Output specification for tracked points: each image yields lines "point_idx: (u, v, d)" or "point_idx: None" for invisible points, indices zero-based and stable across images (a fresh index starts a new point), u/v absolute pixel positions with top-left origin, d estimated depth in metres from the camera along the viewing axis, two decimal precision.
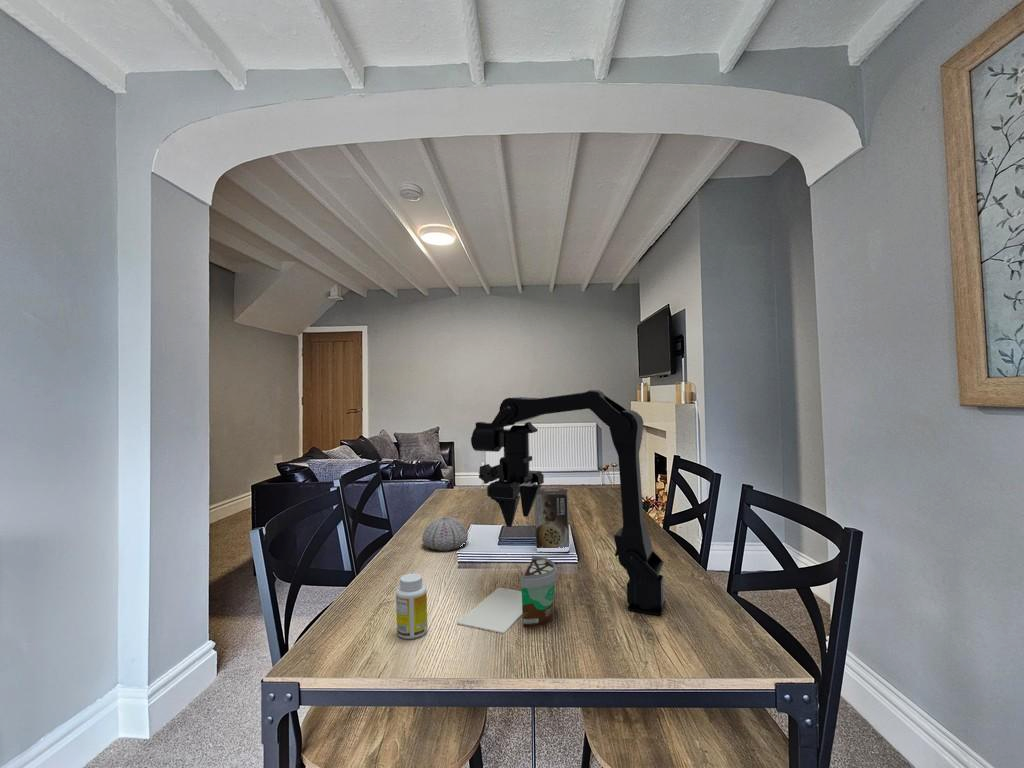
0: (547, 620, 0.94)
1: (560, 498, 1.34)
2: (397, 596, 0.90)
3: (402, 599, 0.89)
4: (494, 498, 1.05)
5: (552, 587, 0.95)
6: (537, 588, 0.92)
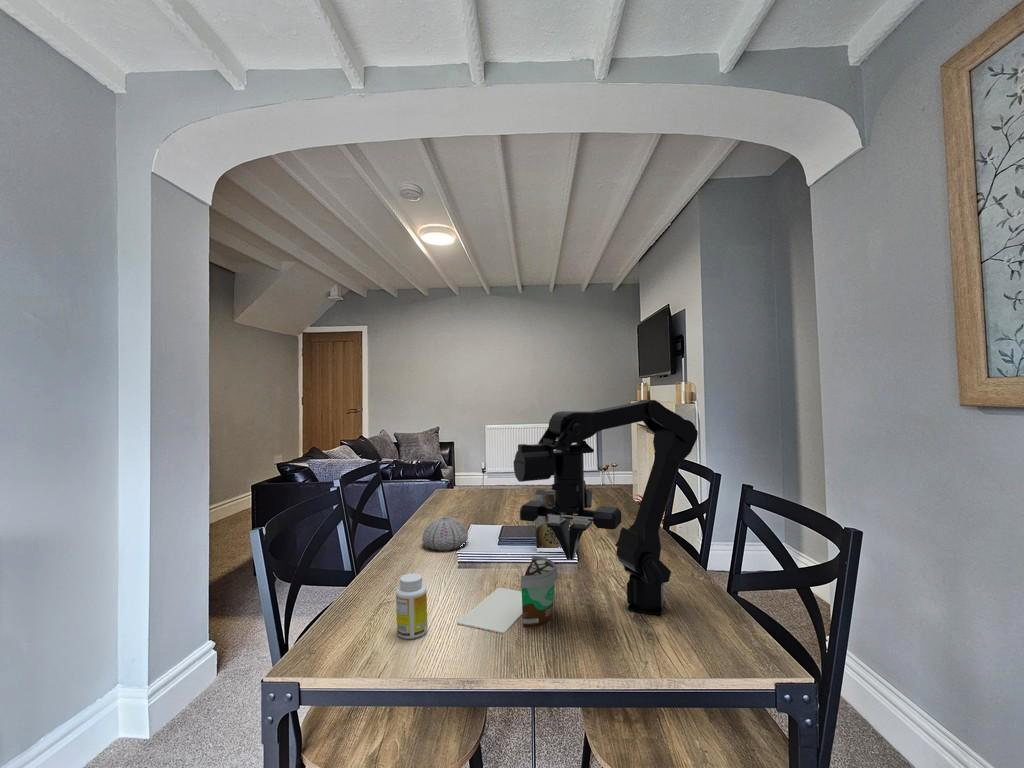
0: (547, 620, 0.94)
1: None
2: (397, 596, 0.90)
3: (402, 599, 0.89)
4: None
5: (552, 587, 0.95)
6: (537, 588, 0.92)
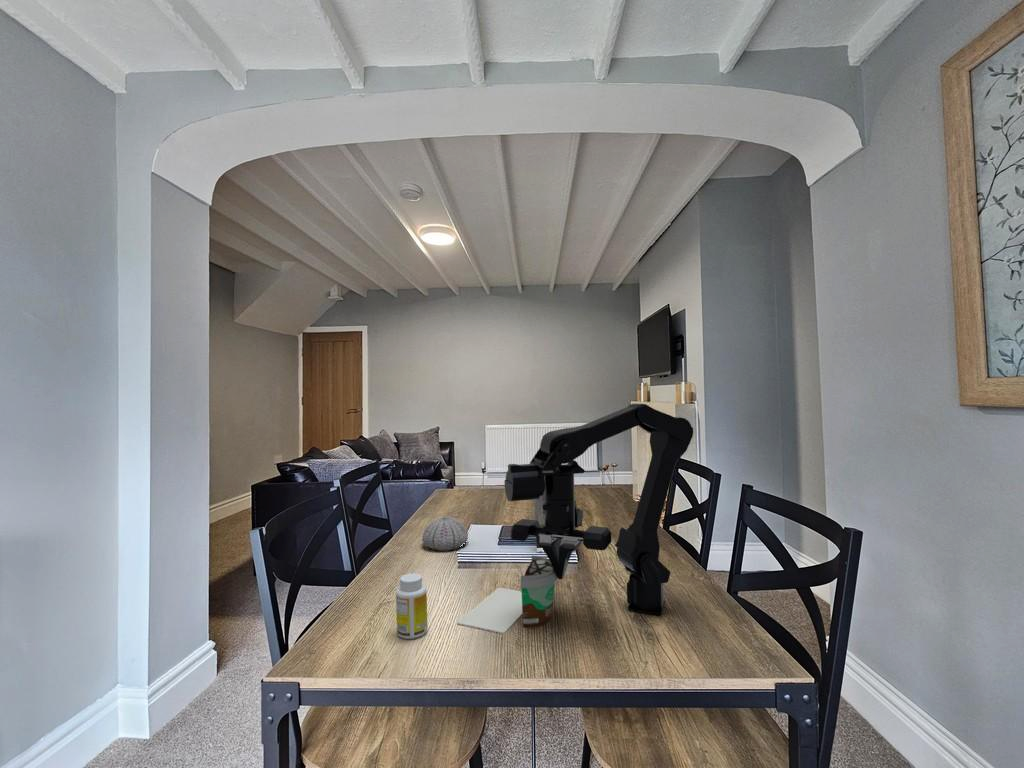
0: (547, 620, 0.94)
1: None
2: (397, 596, 0.90)
3: (402, 599, 0.89)
4: None
5: (552, 587, 0.95)
6: (537, 588, 0.92)
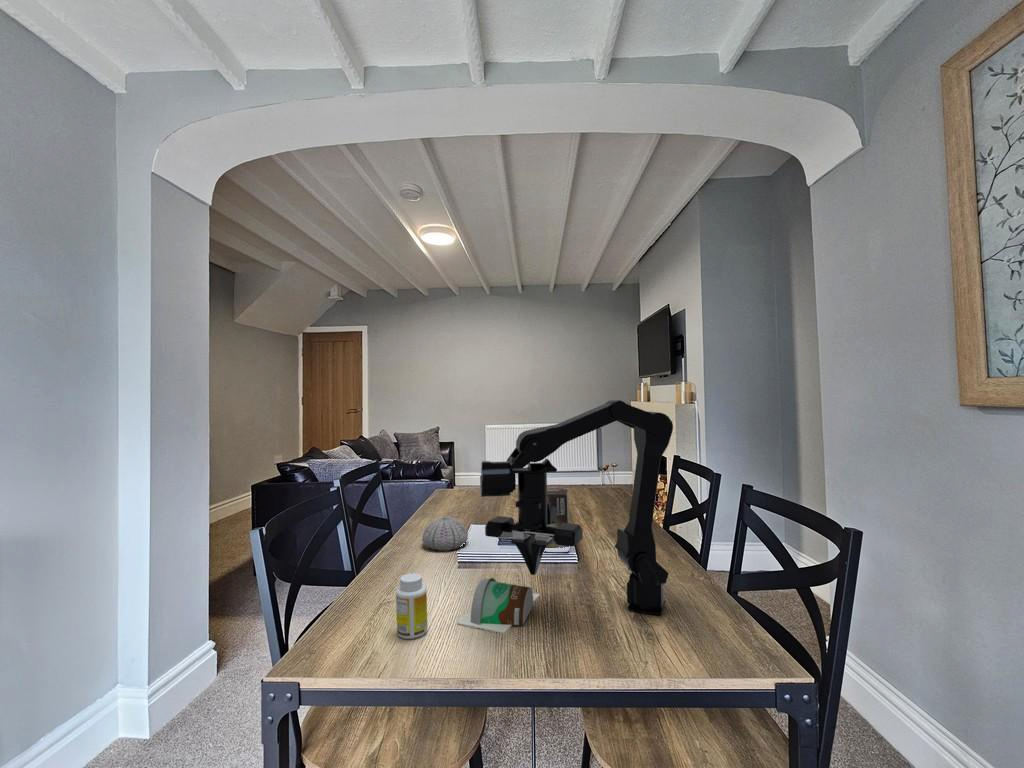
0: (522, 597, 0.95)
1: (560, 498, 1.34)
2: (397, 596, 0.90)
3: (402, 599, 0.89)
4: None
5: (494, 587, 0.97)
6: (484, 606, 0.94)
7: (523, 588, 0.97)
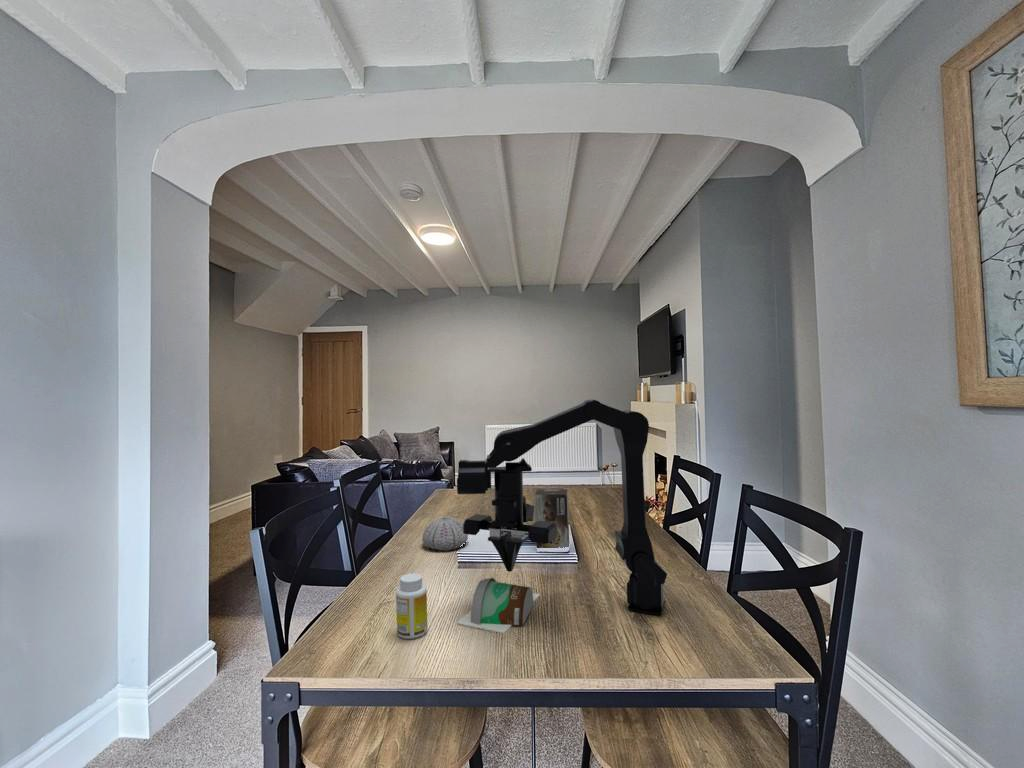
0: (522, 597, 0.95)
1: (560, 498, 1.34)
2: (397, 596, 0.90)
3: (402, 599, 0.89)
4: None
5: (494, 587, 0.97)
6: (484, 606, 0.94)
7: (523, 588, 0.97)
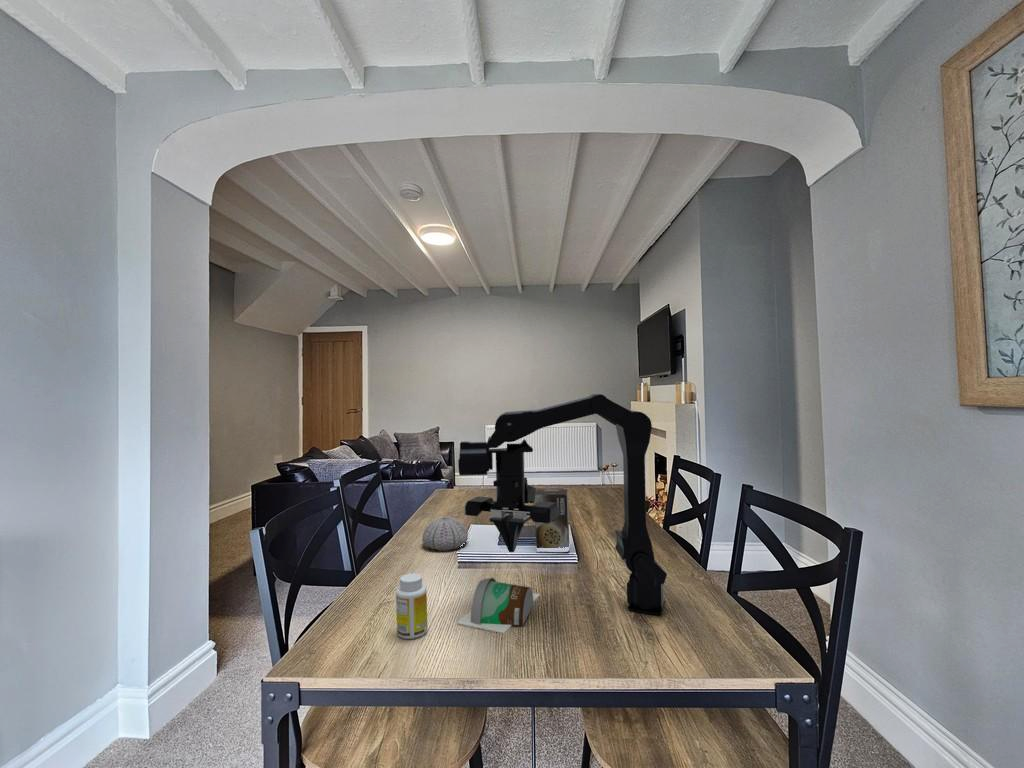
0: (522, 597, 0.95)
1: (560, 498, 1.34)
2: (397, 596, 0.90)
3: (402, 599, 0.89)
4: None
5: (494, 587, 0.97)
6: (484, 606, 0.94)
7: (523, 588, 0.97)
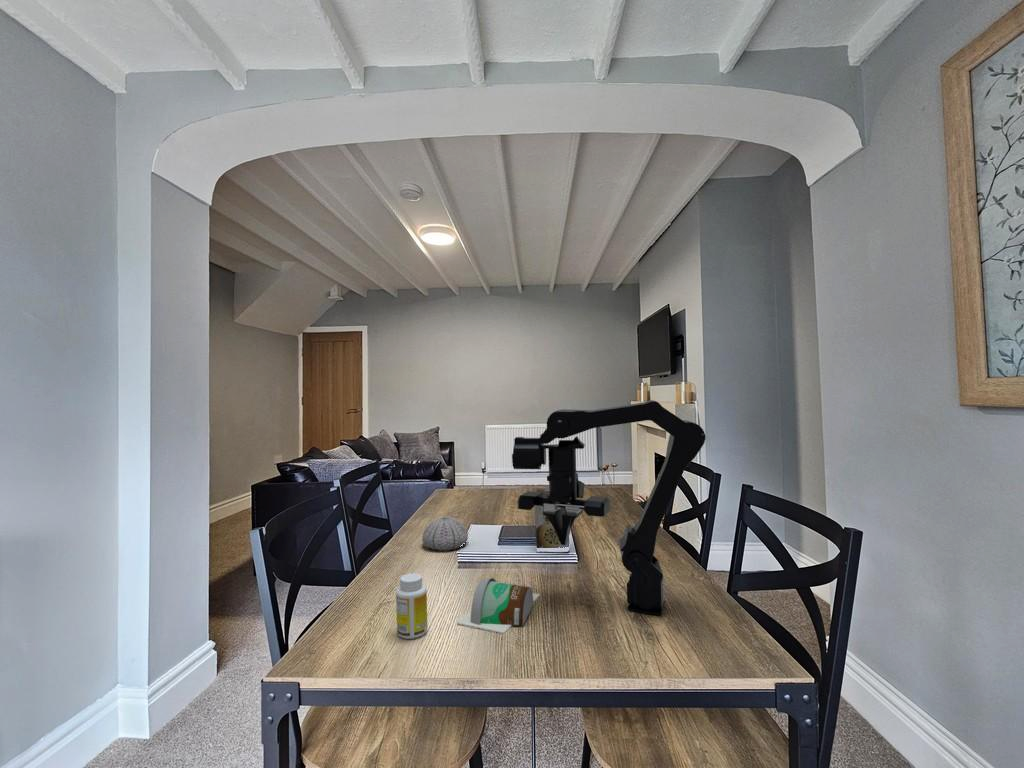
0: (522, 597, 0.95)
1: None
2: (397, 596, 0.90)
3: (402, 599, 0.89)
4: None
5: (494, 587, 0.97)
6: (484, 606, 0.94)
7: (523, 588, 0.97)
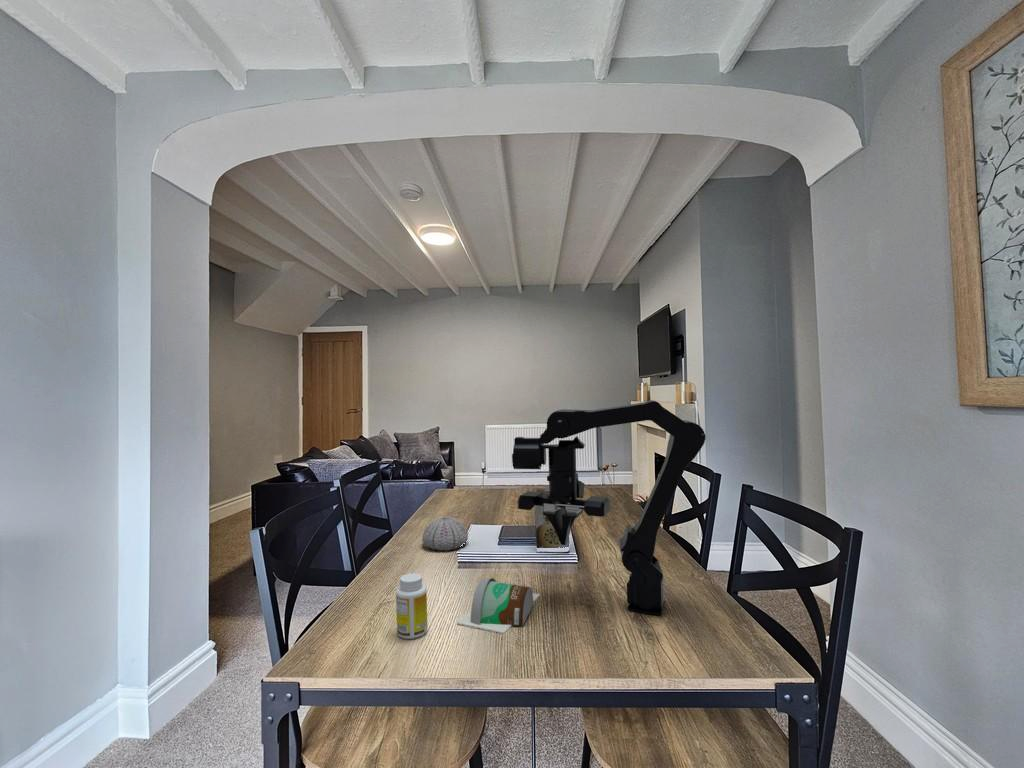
0: (522, 597, 0.95)
1: None
2: (397, 596, 0.90)
3: (402, 599, 0.89)
4: None
5: (494, 587, 0.97)
6: (484, 606, 0.94)
7: (523, 588, 0.97)
